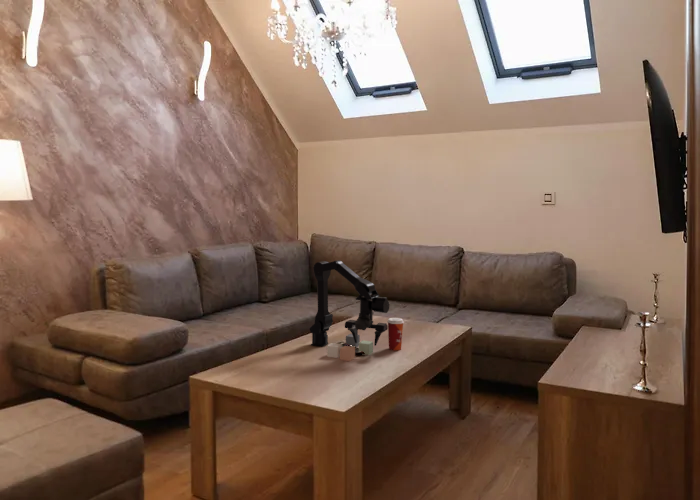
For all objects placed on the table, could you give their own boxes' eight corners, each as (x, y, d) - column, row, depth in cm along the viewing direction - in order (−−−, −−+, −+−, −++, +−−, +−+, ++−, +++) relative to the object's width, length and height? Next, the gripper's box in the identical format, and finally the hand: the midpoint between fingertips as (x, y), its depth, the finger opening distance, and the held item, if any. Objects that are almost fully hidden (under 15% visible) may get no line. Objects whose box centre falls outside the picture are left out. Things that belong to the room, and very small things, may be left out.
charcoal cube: (345, 346, 267) (345, 336, 266) (349, 344, 271) (349, 333, 271) (355, 347, 265) (355, 337, 264) (359, 345, 269) (359, 334, 269)
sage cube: (358, 353, 254) (358, 343, 254) (362, 351, 259) (362, 340, 259) (369, 355, 253) (369, 344, 252) (372, 352, 257) (373, 341, 257)
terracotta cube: (339, 359, 245) (340, 348, 244) (344, 356, 250) (344, 345, 249) (350, 361, 243) (350, 349, 243) (354, 358, 248) (355, 347, 247)
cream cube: (327, 356, 249) (327, 345, 249) (331, 353, 254) (331, 342, 254) (337, 358, 248) (337, 346, 247) (342, 355, 252) (342, 344, 252)
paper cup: (402, 351, 259) (403, 321, 257) (385, 350, 260) (386, 320, 259) (404, 347, 266) (404, 317, 265) (387, 346, 268) (388, 317, 266)
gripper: (340, 311, 250) (339, 346, 252) (380, 315, 243) (379, 351, 245) (349, 307, 260) (349, 340, 262) (388, 311, 253) (387, 345, 255)
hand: (365, 344), depth 256 cm, fingers open, 9 cm apart
